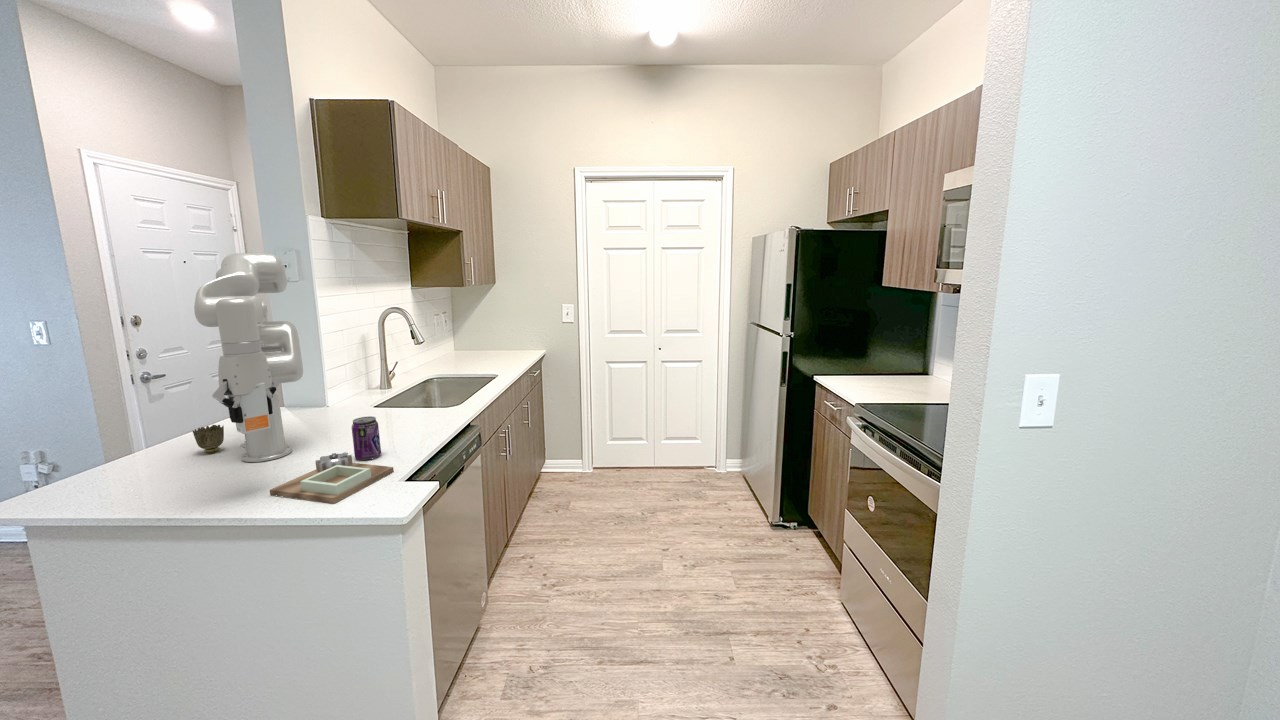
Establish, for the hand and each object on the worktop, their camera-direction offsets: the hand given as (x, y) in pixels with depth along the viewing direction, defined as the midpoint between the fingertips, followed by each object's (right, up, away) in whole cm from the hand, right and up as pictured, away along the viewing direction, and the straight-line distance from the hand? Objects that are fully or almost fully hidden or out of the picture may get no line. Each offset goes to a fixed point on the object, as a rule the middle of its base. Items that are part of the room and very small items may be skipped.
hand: (252, 417), depth 126 cm
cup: (-37, -15, +31) cm, 51 cm away
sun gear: (+13, -16, +14) cm, 24 cm away
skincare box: (0, -3, +1) cm, 4 cm away
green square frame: (+20, -18, +3) cm, 27 cm away
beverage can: (+15, -15, +26) cm, 34 cm away
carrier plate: (+17, -18, +7) cm, 26 cm away
